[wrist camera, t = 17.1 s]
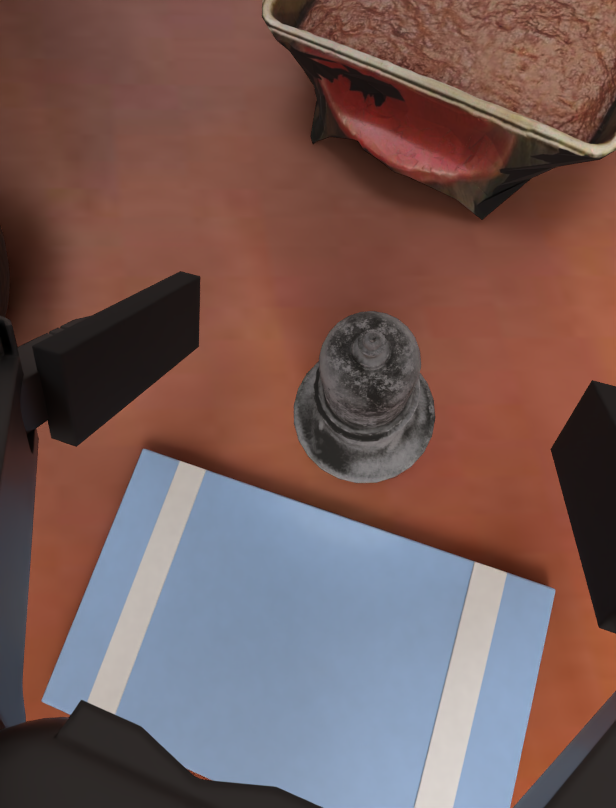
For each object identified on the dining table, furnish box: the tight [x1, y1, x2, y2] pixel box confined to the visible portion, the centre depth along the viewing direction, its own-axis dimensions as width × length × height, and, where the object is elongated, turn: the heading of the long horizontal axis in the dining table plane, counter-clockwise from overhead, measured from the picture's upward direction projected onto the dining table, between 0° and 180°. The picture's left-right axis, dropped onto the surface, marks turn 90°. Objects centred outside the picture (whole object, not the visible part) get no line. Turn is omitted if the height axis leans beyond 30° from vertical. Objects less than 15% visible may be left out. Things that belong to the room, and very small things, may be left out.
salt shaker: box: [294, 311, 435, 483], centre depth 16 cm, size 6×6×12 cm
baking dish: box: [262, 0, 616, 220], centre depth 22 cm, size 14×18×10 cm
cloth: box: [42, 449, 555, 808], centre depth 20 cm, size 12×20×1 cm, turn 72°
